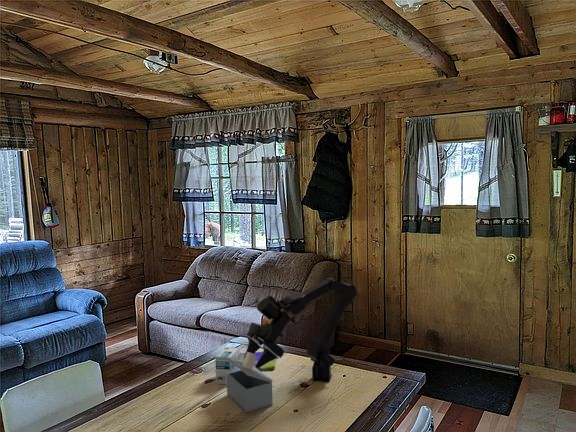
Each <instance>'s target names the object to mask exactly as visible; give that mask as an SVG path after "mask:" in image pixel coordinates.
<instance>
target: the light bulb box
mask: <svg viewBox="0 0 576 432" xmlns="http://www.w3.org/2000/svg"><path fill="white" fill-rule="evenodd" d="M240 353H241V352H240V347H227V346H223V348H222V349H221V350H220V351H219V352H218V353H217V354H216V355H215V356H214V357H215V359H214V360H215V378H216V380H215V382H216V384H217V385H218V384H219V385H220V384H221V385H227V376H226V374H227V373H231V372H234V371H238V370H240V369H239V368H238V367H236V366H235V365H234V364H233V363H231V362H230V361H229V360H228V359H229V358H231V359H235V360H238V361H240Z"/></svg>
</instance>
